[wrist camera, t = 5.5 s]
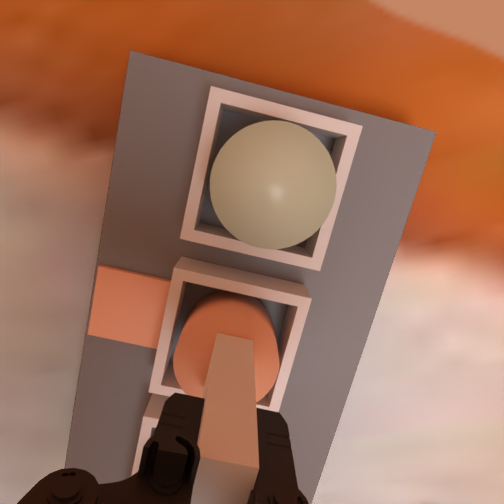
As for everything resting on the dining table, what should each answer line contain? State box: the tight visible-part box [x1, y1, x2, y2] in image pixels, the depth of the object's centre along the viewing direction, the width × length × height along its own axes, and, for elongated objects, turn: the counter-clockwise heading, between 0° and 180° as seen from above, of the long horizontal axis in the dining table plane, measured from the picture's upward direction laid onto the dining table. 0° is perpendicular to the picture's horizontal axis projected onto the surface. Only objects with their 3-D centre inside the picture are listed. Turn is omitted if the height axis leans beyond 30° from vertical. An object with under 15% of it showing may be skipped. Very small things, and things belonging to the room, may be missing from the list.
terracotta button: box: [173, 290, 279, 402], centre depth 17 cm, size 4×4×3 cm
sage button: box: [210, 120, 337, 249], centre depth 14 cm, size 4×4×3 cm
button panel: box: [64, 50, 436, 504], centre depth 19 cm, size 14×23×5 cm, turn 166°
